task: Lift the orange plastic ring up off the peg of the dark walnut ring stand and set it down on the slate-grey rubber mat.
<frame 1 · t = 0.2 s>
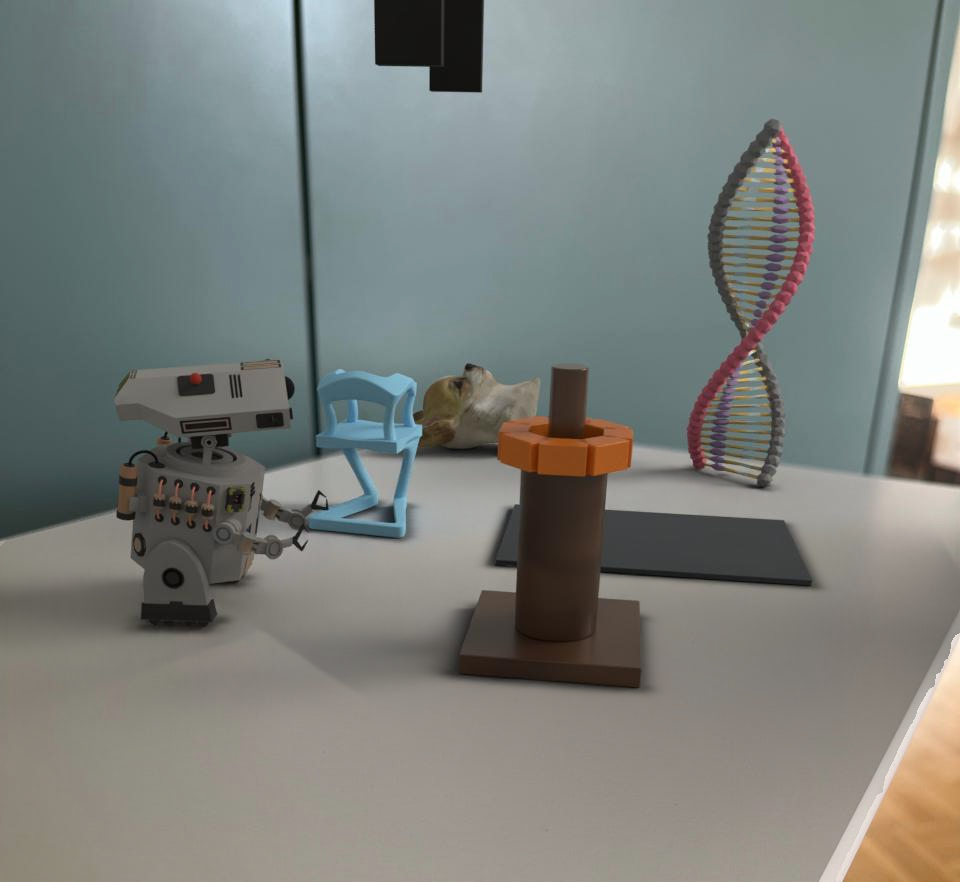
hand: (435, 81, 48), 29 cm above the table, tool pointing down, fingers open, 13 cm apart
toy dog: (465, 450, 106), on the table
orange ring: (564, 458, 57), point 11 cm above the table, touching ring stand
dna model: (729, 479, 97), on the table
chair: (372, 520, 83), on the table
figurine: (230, 604, 67), on the table
rubber mat: (648, 543, 79), on the table
ring stand: (554, 644, 62), on the table
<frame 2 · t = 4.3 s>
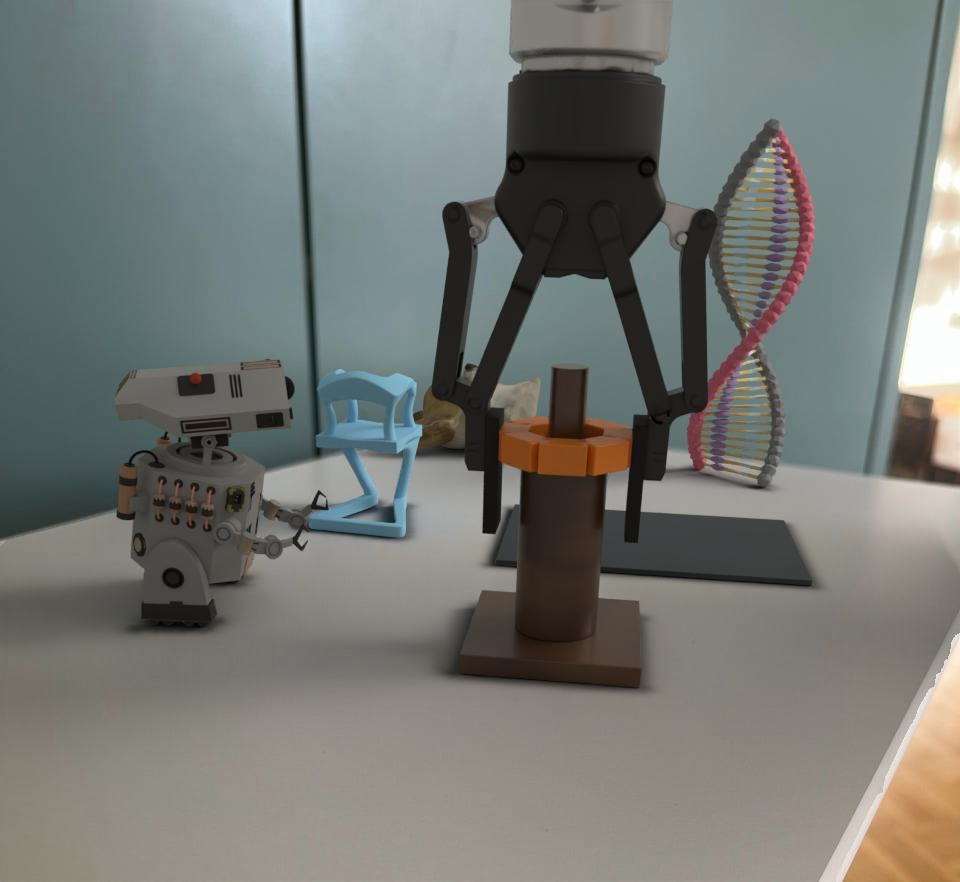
hand: (560, 530, 59), 7 cm above the table, tool pointing down, fingers closed on orange ring, 7 cm apart
orange ring: (564, 458, 57), point 11 cm above the table, touching gripper, ring stand
everything else where it was.
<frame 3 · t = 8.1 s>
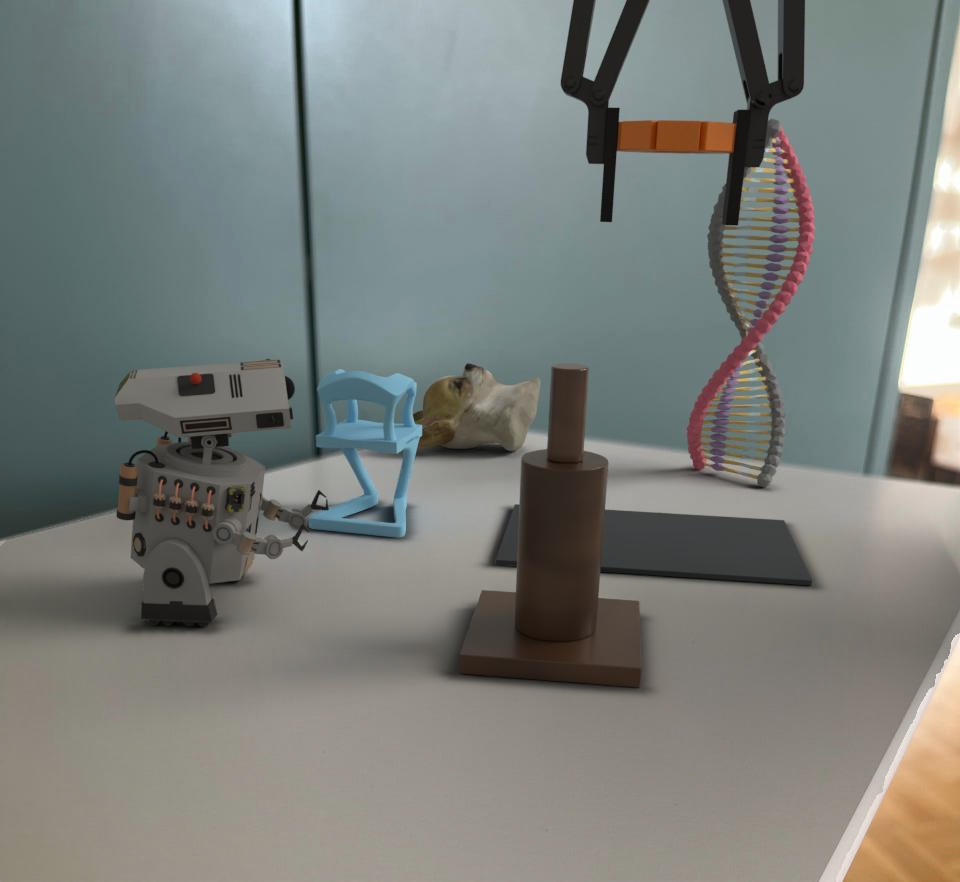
hand: (667, 222, 67), 23 cm above the table, tool pointing down, fingers closed on orange ring, 7 cm apart
orange ring: (673, 151, 65), point 27 cm above the table, touching gripper
everything else where it was.
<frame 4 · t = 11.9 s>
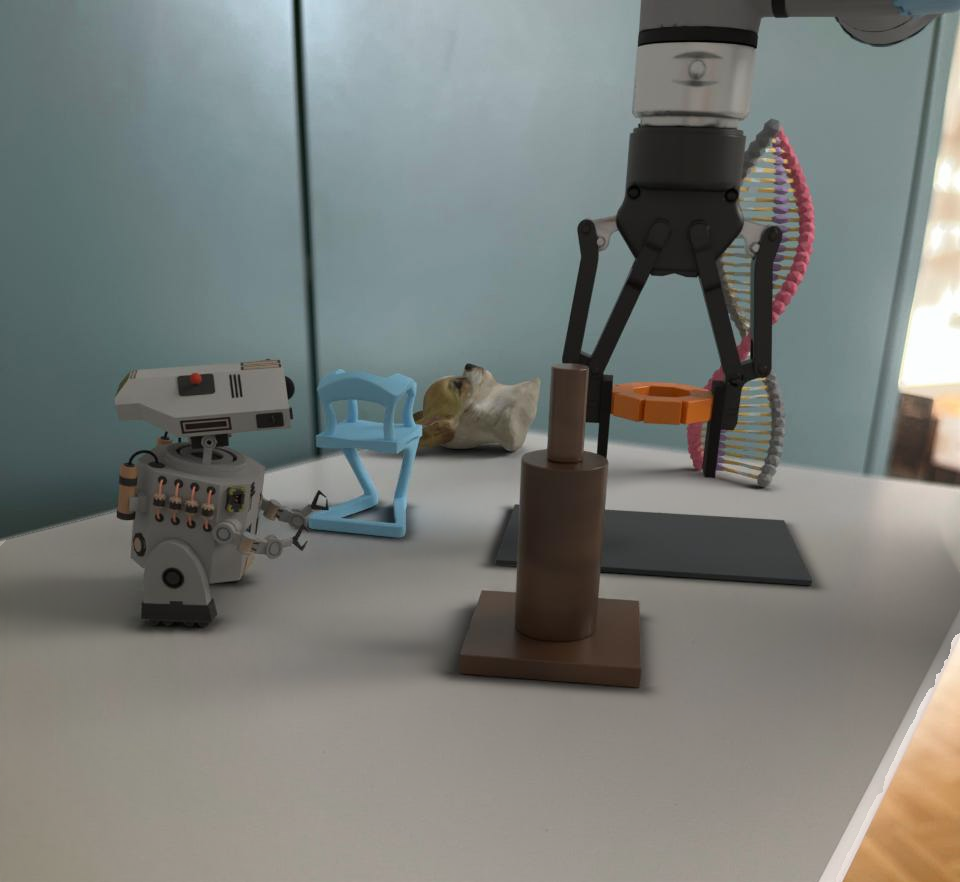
hand: (654, 469, 77), 6 cm above the table, tool pointing down, fingers closed on orange ring, 7 cm apart
orange ring: (659, 413, 75), point 10 cm above the table, touching gripper
everything else where it was.
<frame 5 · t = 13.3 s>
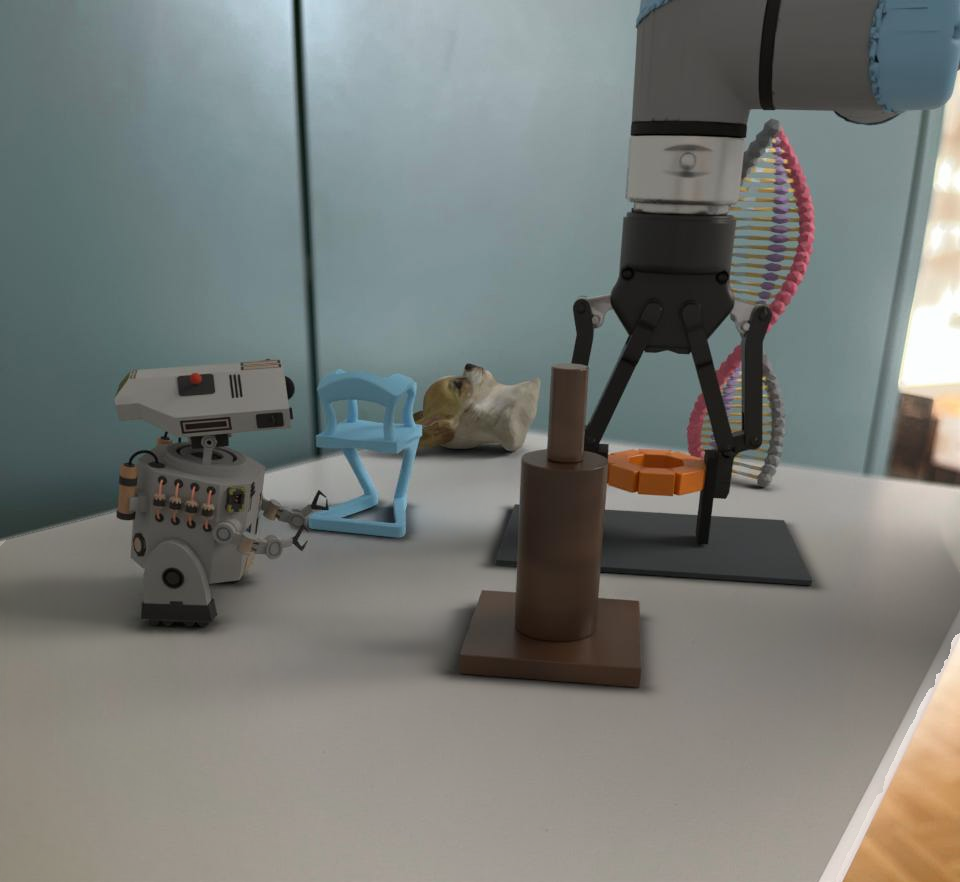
hand: (649, 534, 79), 1 cm above the table, tool pointing down, fingers closed on orange ring, 7 cm apart
orange ring: (654, 482, 77), point 5 cm above the table, touching gripper
everything else where it was.
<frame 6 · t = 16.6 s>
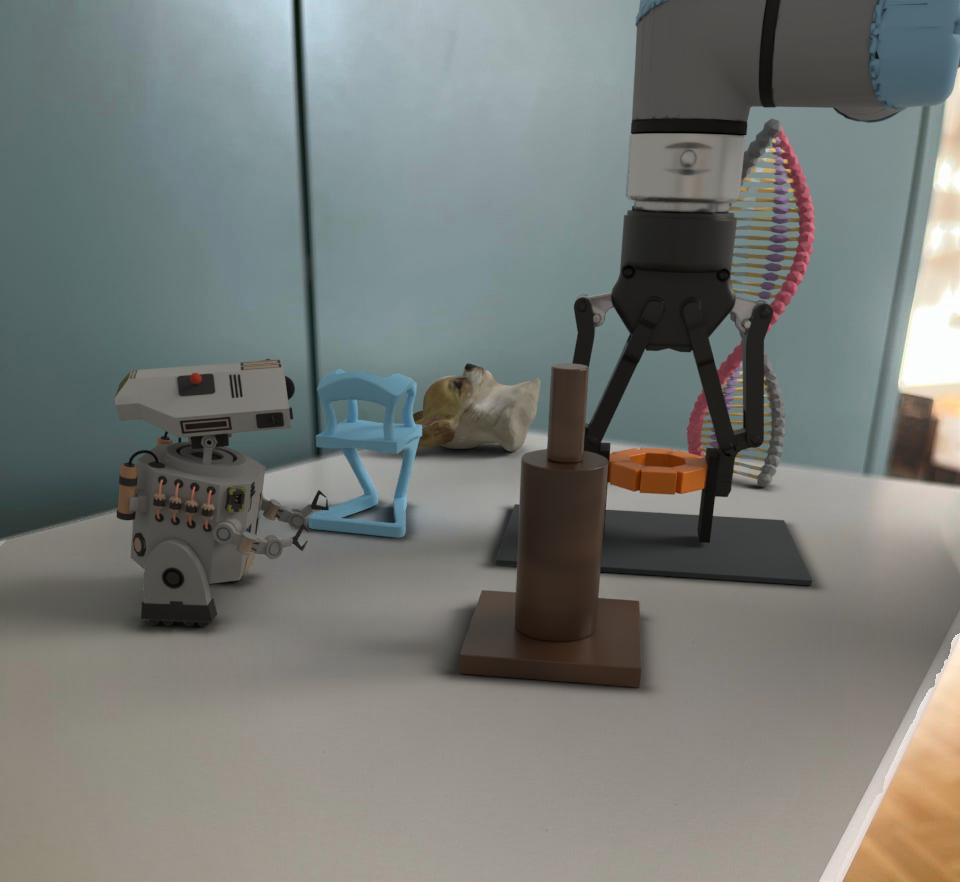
hand: (651, 533, 79), 1 cm above the table, tool pointing down, fingers closed on orange ring, 7 cm apart
orange ring: (655, 480, 77), point 5 cm above the table, touching gripper
everything else where it was.
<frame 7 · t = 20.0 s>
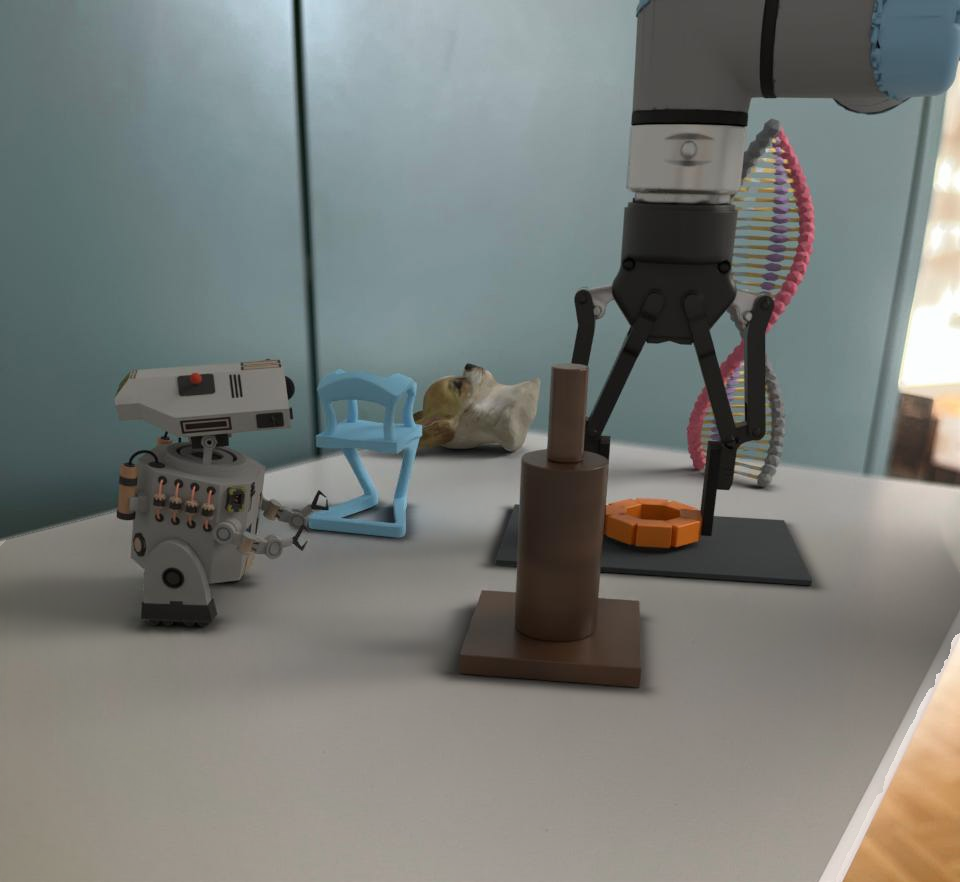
hand: (651, 526, 78), 1 cm above the table, tool pointing down, fingers closed on orange ring, 7 cm apart
orange ring: (651, 532, 79), point 1 cm above the table, touching gripper
everything else where it was.
when the fingers open (2 cm above the table, at t = 20.1 s): orange ring stays where it is, resting on rubber mat.
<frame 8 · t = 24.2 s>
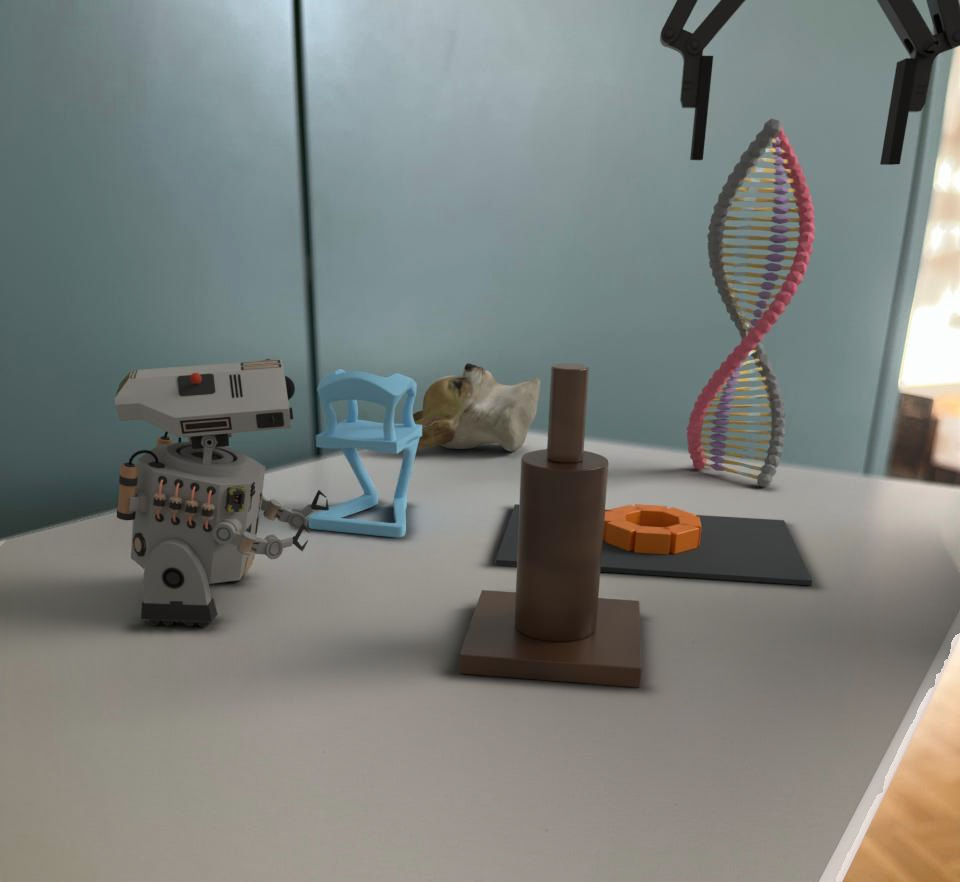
hand: (792, 162, 75), 27 cm above the table, tool pointing down, fingers open, 13 cm apart
orange ring: (650, 538, 79), resting on rubber mat
everything else where it was.
at the end: orange ring inside the target area on the rubber mat (0.1 cm from its centre), point 0.4 cm above the rubber mat's base; orange ring tilted 0°; the gripper is holding nothing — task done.
